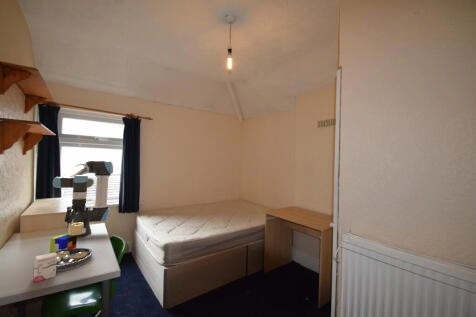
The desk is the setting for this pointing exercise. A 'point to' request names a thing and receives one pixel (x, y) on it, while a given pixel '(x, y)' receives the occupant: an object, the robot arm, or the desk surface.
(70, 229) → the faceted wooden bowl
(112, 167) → the robot arm
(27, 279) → the desk surface
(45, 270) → the ink box
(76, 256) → the carrier
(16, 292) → the desk surface
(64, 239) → the puzzle toy
